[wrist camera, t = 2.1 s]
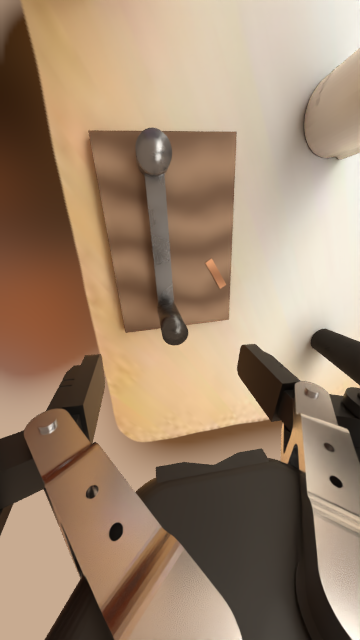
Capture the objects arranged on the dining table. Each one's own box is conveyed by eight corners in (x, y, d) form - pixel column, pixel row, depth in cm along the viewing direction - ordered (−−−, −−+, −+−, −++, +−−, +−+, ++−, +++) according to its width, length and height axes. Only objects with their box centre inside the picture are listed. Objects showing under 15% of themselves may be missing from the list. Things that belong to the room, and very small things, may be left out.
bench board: (91, 136, 24) (87, 129, 23) (231, 137, 27) (237, 131, 25) (126, 328, 35) (125, 333, 33) (225, 316, 37) (229, 319, 36)
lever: (133, 139, 24) (129, 80, 15) (167, 140, 24) (183, 83, 15) (154, 316, 33) (159, 347, 24) (178, 313, 33) (192, 342, 24)
